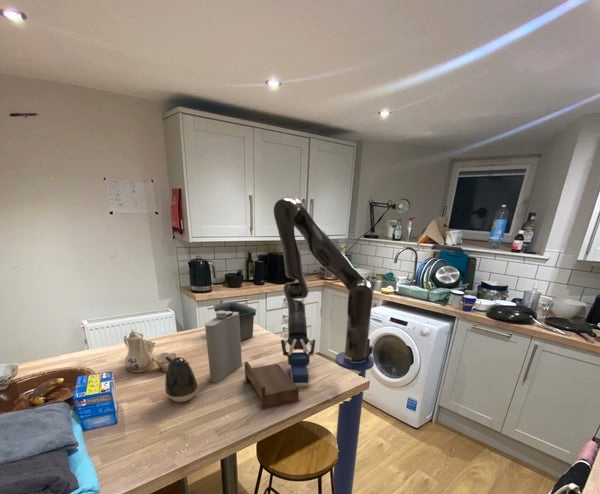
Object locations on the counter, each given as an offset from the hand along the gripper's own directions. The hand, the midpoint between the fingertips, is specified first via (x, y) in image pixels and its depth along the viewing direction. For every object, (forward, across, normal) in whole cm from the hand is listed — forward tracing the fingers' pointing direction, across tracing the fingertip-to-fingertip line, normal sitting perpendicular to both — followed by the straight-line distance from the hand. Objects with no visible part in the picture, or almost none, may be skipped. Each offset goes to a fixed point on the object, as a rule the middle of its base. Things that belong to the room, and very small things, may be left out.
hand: (298, 364), depth 130 cm
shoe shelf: (+11, -11, -5) cm, 17 cm away
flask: (+1, -29, +5) cm, 29 cm away
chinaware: (-4, -61, +11) cm, 62 cm away
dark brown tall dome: (+14, -41, -8) cm, 44 cm away
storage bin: (-27, -29, +33) cm, 52 cm away
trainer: (+5, 0, +1) cm, 5 cm away
